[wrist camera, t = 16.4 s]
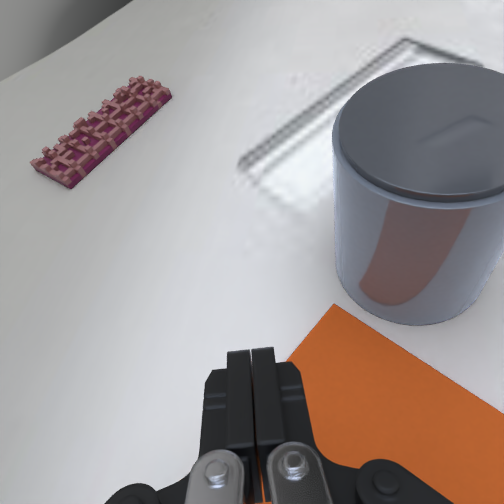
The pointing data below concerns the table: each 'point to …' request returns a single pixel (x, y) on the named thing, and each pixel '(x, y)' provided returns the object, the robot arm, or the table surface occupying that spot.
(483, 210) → the crock
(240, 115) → the table surface
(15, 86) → the table surface
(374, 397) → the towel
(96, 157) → the red flat knobbed bar
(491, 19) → the table surface
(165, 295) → the table surface
